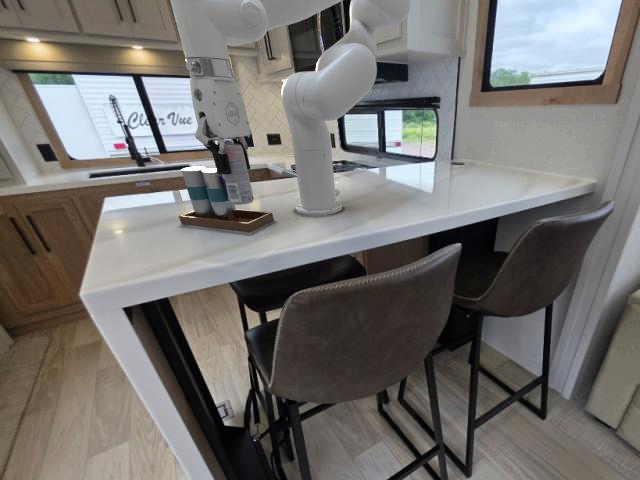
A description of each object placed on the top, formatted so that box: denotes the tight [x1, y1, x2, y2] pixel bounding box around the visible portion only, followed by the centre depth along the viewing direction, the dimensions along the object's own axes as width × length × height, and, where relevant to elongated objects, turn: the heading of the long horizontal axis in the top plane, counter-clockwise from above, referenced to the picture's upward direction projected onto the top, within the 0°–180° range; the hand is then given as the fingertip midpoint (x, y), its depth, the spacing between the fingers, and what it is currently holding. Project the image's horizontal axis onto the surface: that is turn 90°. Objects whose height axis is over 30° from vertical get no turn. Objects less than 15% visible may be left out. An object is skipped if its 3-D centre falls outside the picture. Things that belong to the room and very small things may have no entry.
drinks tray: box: [178, 208, 275, 234], centre depth 80 cm, size 9×19×2 cm, turn 74°
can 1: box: [180, 166, 215, 219], centre depth 78 cm, size 5×5×12 cm
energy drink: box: [222, 143, 255, 206], centre depth 73 cm, size 5×5×12 cm
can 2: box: [201, 167, 239, 222], centre depth 77 cm, size 5×5×12 cm
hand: (234, 170), depth 73 cm, fingers closed on energy drink, 5 cm apart
